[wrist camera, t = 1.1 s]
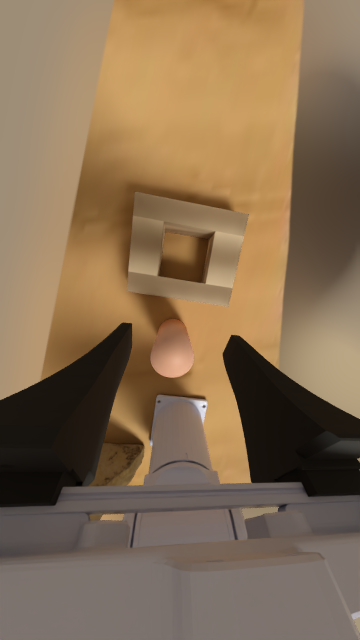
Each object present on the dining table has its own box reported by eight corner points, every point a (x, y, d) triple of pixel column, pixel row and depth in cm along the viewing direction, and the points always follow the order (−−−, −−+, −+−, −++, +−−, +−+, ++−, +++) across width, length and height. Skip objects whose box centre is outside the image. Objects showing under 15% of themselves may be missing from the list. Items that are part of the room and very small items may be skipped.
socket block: (220, 304, 21) (228, 306, 18) (133, 290, 20) (126, 291, 17) (237, 225, 19) (248, 214, 16) (141, 206, 18) (134, 191, 15)
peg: (184, 347, 22) (190, 379, 15) (156, 343, 22) (147, 374, 14) (188, 320, 22) (197, 340, 14) (160, 316, 21) (153, 334, 14)
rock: (157, 447, 23) (89, 431, 20) (137, 544, 18) (40, 539, 15) (136, 444, 31) (85, 432, 28) (118, 510, 25) (52, 503, 22)
